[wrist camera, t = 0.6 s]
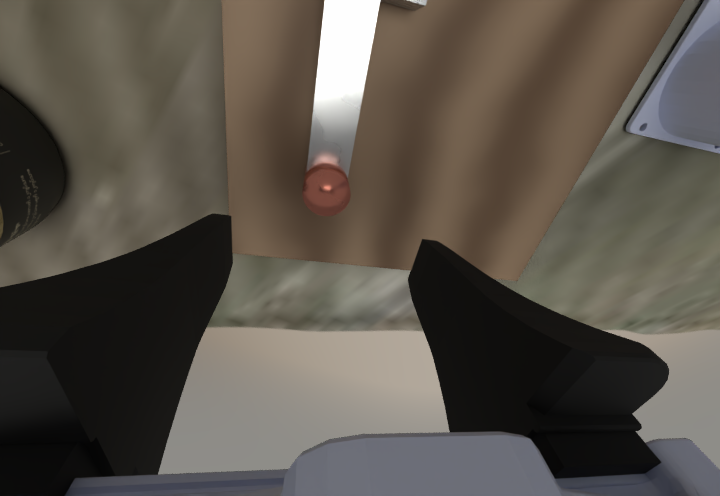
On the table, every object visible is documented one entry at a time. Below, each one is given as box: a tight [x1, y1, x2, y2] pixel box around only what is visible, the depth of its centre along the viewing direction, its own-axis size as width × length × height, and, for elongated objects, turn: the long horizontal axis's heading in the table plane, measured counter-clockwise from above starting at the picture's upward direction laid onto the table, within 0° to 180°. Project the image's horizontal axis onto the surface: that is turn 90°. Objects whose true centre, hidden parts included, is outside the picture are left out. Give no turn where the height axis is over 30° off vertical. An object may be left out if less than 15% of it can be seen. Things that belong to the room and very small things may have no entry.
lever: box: [302, 0, 427, 216], centre depth 13 cm, size 20×5×3 cm, turn 169°
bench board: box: [222, 0, 684, 281], centre depth 16 cm, size 24×28×4 cm
